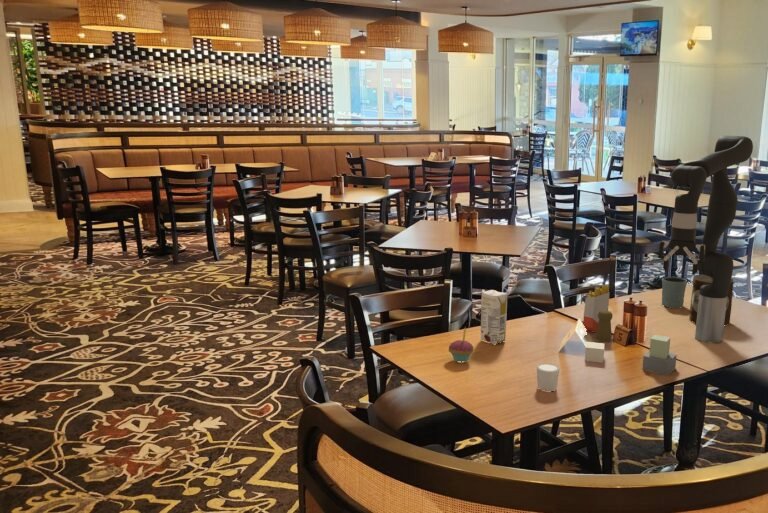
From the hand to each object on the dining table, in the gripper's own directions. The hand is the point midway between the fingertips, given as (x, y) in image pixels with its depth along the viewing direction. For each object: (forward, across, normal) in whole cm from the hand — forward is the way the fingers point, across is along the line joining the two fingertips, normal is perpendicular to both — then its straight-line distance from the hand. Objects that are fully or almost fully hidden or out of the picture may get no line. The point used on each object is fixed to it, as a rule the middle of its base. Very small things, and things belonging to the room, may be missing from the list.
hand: (679, 272), depth 218 cm
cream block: (+30, +22, +17) cm, 41 cm away
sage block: (+25, +2, +15) cm, 29 cm away
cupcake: (+30, +60, +44) cm, 80 cm away
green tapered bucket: (+30, +12, -66) cm, 74 cm away
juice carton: (+30, +59, +20) cm, 69 cm away
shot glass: (+30, +27, +50) cm, 64 cm away
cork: (+30, +25, -5) cm, 40 cm away
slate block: (+30, +1, +15) cm, 34 cm away
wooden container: (+30, -5, -50) cm, 59 cm away
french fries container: (+30, +31, -14) cm, 46 cm away
